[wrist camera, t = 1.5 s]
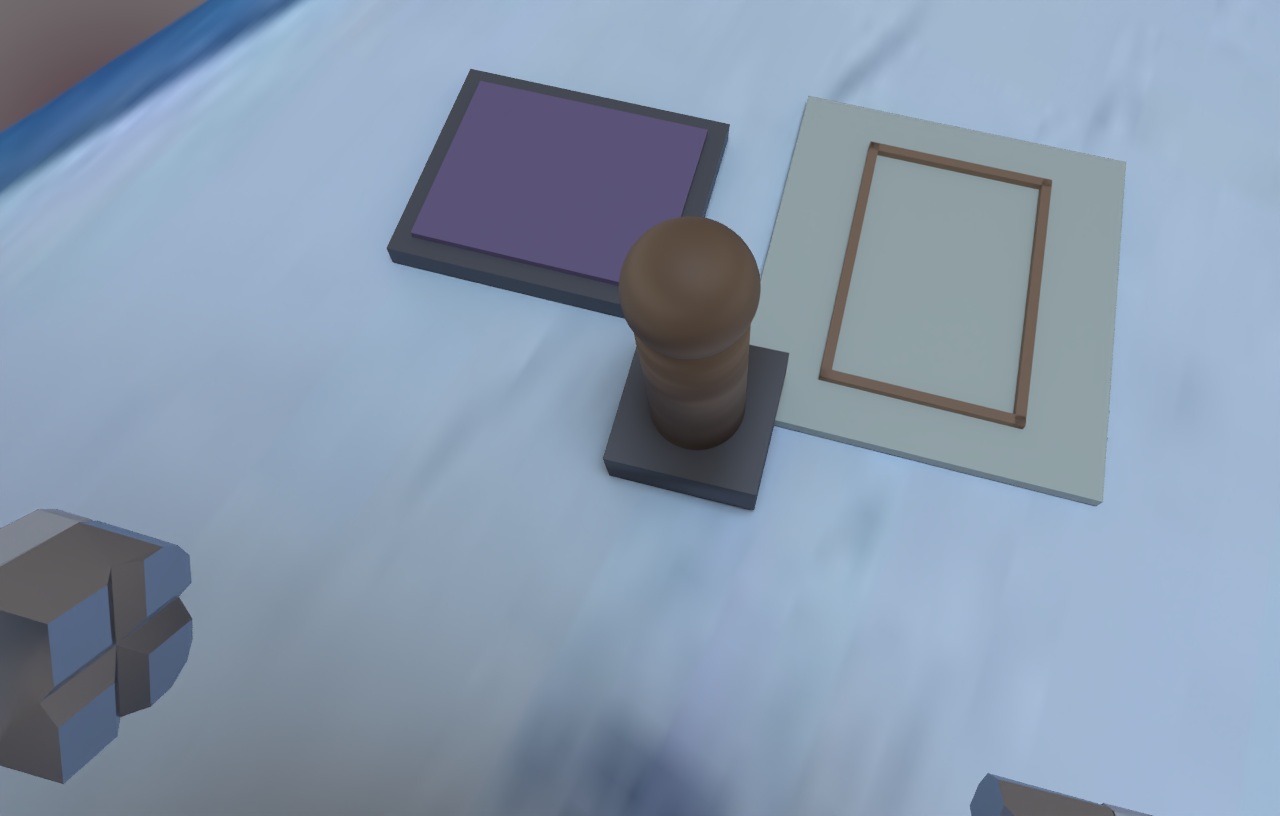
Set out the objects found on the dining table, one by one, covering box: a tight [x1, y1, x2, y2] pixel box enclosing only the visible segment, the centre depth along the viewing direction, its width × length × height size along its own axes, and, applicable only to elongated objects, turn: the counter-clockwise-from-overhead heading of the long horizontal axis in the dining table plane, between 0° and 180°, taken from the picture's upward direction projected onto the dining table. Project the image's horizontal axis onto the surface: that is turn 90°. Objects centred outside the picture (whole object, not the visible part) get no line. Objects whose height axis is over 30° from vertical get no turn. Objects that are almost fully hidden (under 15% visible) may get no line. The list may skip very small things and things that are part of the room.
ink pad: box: [387, 69, 730, 318], centre depth 38 cm, size 12×10×1 cm
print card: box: [749, 96, 1126, 506], centre depth 36 cm, size 14×16×1 cm
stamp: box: [603, 216, 789, 510], centre depth 28 cm, size 6×6×12 cm
